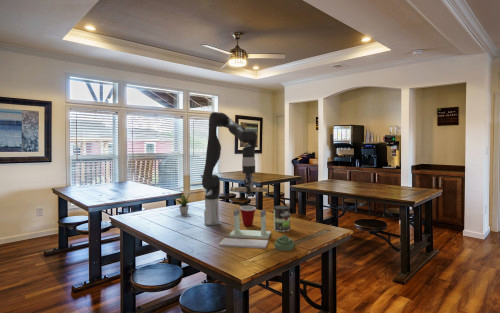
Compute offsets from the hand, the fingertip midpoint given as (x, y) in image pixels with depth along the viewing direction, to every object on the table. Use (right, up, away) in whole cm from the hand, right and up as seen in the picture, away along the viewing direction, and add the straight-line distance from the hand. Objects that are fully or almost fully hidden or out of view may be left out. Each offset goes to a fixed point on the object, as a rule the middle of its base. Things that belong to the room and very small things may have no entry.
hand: (249, 194), depth 174 cm
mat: (-3, -25, -13) cm, 29 cm away
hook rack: (+1, -24, +1) cm, 24 cm away
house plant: (-51, -23, +60) cm, 82 cm away
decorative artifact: (+18, -25, -20) cm, 37 cm away
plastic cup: (-1, -23, +23) cm, 33 cm away
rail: (0, +3, 0) cm, 3 cm away
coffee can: (+20, -24, +12) cm, 33 cm away
